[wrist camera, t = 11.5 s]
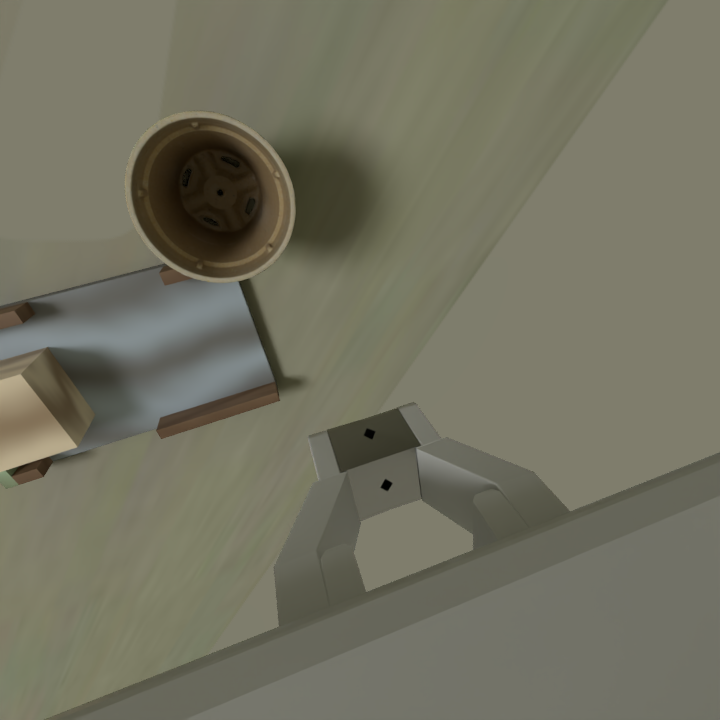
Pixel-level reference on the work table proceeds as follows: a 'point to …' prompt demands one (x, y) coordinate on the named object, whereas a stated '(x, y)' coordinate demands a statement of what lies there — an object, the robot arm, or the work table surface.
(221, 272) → the flower pot
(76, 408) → the beech block
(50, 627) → the work table surface
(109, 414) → the channel
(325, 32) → the work table surface
